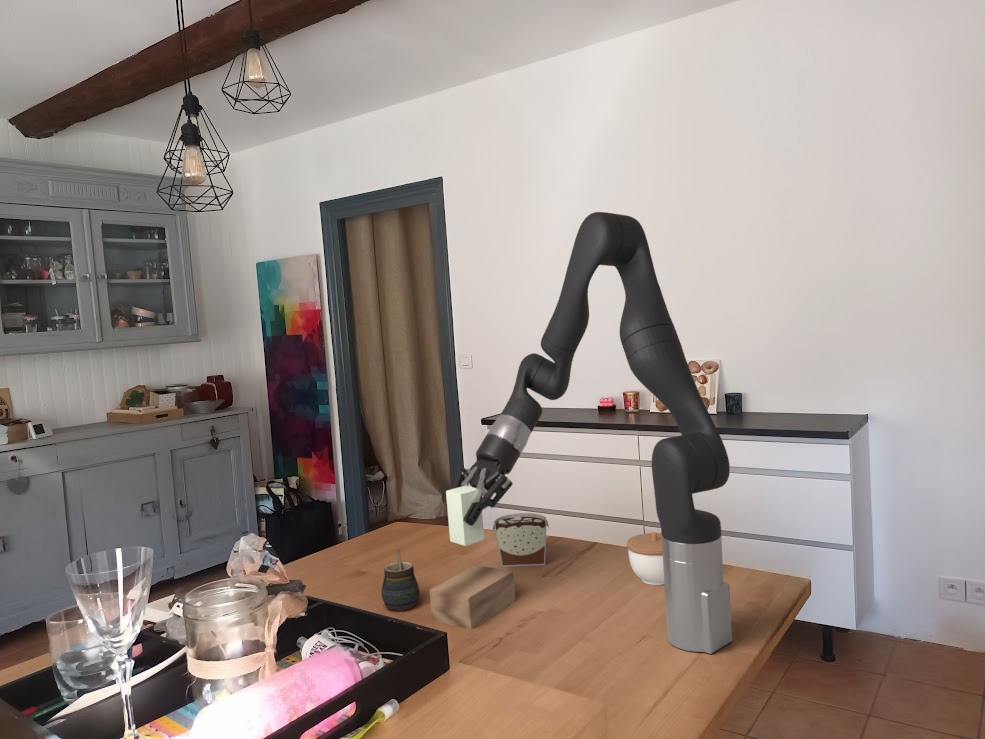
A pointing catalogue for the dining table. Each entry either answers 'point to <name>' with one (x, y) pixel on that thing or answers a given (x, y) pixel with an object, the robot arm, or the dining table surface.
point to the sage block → (457, 510)
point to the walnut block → (472, 596)
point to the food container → (521, 539)
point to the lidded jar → (647, 557)
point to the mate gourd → (399, 586)
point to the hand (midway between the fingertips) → (459, 520)
